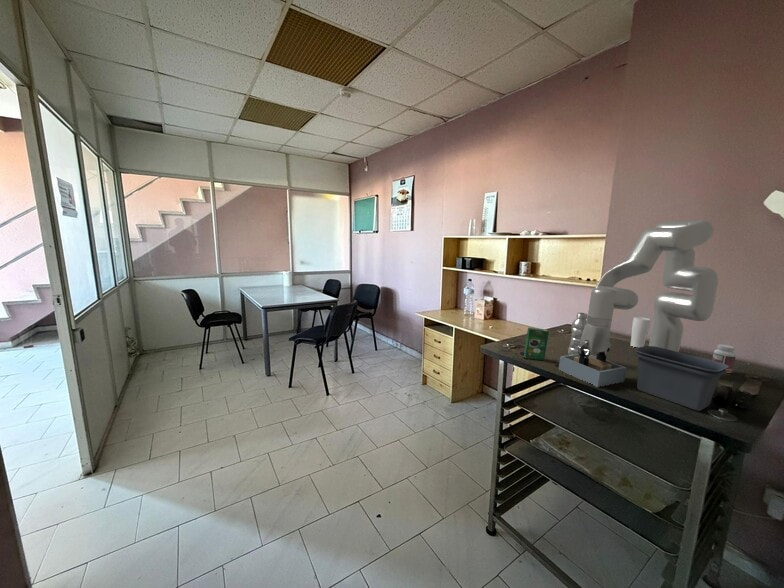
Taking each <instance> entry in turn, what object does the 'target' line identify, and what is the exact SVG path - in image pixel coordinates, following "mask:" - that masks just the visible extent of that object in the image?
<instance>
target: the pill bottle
mask: <svg viewBox="0 0 784 588" xmlns="http://www.w3.org/2000/svg"><path fill="white" fill-rule="evenodd" d="M734 351H735V347H734V346H733V345H732V346H731V345H728V344H719V343H718V344H717V349H715V350H714V351H713V355H712V359H711V360H712V361H716V362H719V363H723V364H726V365H728V366H729V367H728V368H726V370H727V373H731V372H732V373H733V371H734V365H735V360H736V357H737V355H736V353H735V352H734Z"/></svg>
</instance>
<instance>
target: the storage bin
mask: <svg viewBox="0 0 784 588" xmlns="http://www.w3.org/2000/svg"><path fill="white" fill-rule="evenodd" d="M634 350H635V351H636V352H635V353H634V356H635V357H637V358H638V362H637V363H638V364H637V382H636V383H637V384H636V388H637V390H638V391H640V392H643V393H646V394H649V395H652V396H655V397H657V398H661V399H663V400H666V401H669V402H671V403H674V404H677V405H679V406H683V407H685V408H688V409H691V410H694V411H698V412H701V411H702V410H704V409H706V408H707V407H709V406H710V405H711V403H712V398H713V397H714V394H715V391H716V389H717V385H718V383H719V380H720V377H721V376H724V375H727V374H726V373H727V370H726V368H728V367H729V366H728V365H726V364H723V363H719V362H716V361H712V359H709V358H703V357H699V356H696V355H692V354H688V353H683V352H680V351H679V352H676V351H672V350H668V349H664V348H660V347H654V346H649V345H644V346H643V347H639V348H634Z"/></svg>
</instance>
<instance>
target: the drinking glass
mask: <svg viewBox="0 0 784 588" xmlns="http://www.w3.org/2000/svg"><path fill="white" fill-rule="evenodd" d="M651 321H652V320H651V319H650V318H647V317H642V316H634V317H633V319H632V325H631V335H630V337H631V338H630V347H631V346H633V347H632V348H634V347H638V348H639V347H643V346H645V343H646V341H647V337H648V333H649V330H650V327H651Z"/></svg>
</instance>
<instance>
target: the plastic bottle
mask: <svg viewBox="0 0 784 588" xmlns="http://www.w3.org/2000/svg"><path fill="white" fill-rule="evenodd" d="M587 316H588V313H585V312H577V314H576V318H575V319H574V320H573V321H572V323H571V337H570V343H569V346H568V348H567V349H568V350H567V355H574V354H579V353H578V348H577V347H578V346H579V345H580V341H581V337H582V333H583V330H584V327H585V325H586V323H587Z"/></svg>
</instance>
